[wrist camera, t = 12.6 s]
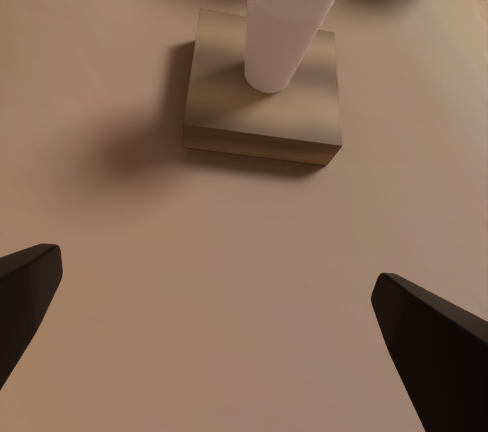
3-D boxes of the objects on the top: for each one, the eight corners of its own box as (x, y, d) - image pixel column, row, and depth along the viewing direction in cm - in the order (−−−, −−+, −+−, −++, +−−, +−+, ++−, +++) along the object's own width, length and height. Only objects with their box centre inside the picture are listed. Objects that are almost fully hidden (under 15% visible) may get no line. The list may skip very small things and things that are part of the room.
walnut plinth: (326, 165, 27) (342, 145, 25) (184, 147, 26) (183, 124, 23) (321, 59, 32) (334, 32, 29) (199, 38, 30) (200, 8, 28)
